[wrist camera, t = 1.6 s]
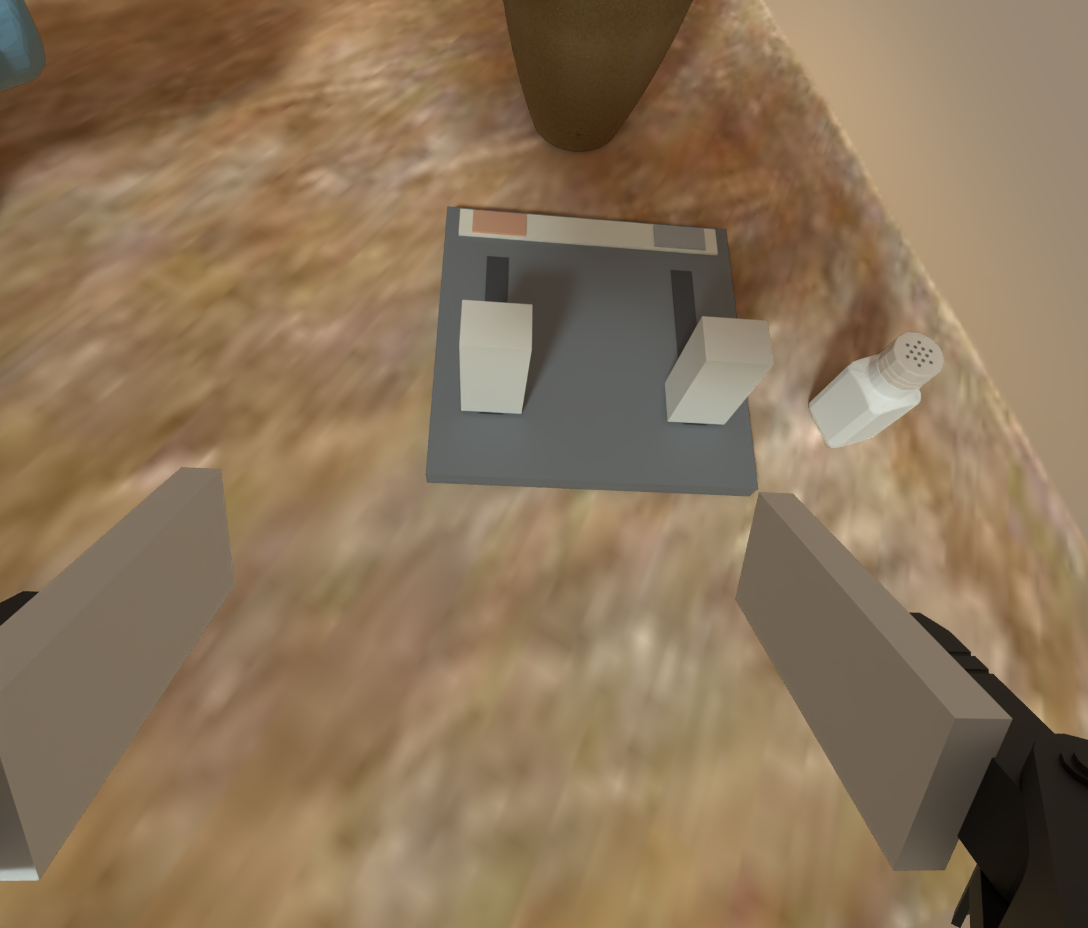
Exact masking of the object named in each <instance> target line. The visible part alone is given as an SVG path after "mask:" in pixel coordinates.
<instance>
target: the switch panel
mask: <svg viewBox="0 0 1088 928" xmlns="http://www.w3.org/2000/svg"><path fill="white" fill-rule="evenodd" d="M462 300H473V301H487V302H502V303H517V304H531V305H532V351H531V357H530V363H529V369H528V376H527V382H526V388H525V394H524V401H523V407H522V413H521V414H516V413H497V412H478V411H461V388H460V353H459V342H460V326H461V311H462ZM702 316H706V317H720V318H735V319H737V314H736V306H735V298H734V290H733V282H732V273H731V265H730V257H729V249H728V241H727V233H726V229H718V228H706V227H694V226H681V225H669V224H657V223H645V222H633V221H620V220H608V219H596V218H584V217H571V216H559V215H547V214H535V213H522V212H510V211H498V210H486V209H474V208H461V207H449V206H447V218H446V231H445V243H444V255H443V268H442V280H441V292H440V305H439V317H438V329H437V342H436V354H435V366H434V379H433V391H432V403H431V416H430V428H429V440H428V453H427V465H426V478H427V482H430V483H453V484H477V485H500V486H523V487H547V488H570V489H594V490H617V491H640V492H664V493H687V494H711V495H734V496H750V495H751V494H753V493H754V492H755V491H756V490H757V489H758V483H757V475H756V467H755V459H754V451H753V443H752V435H751V427H750V419H749V410H748V402H747V398H746V399H745V400H744V401H743V403H742V404H741V405H740V406H739V407H738V409H737V410H736V411H735V412H734V413H733V415H732V416H731V417H730V418H729V420H728V421H727V422H726V423H725V424H724V425H723V424H704V423H685V422H668V421H667V407H666V393H665V382H666V380H667V378H668V376H669V375H670V373H671V371H672V369H673V367H674V366H675V364H676V362H677V360H678V358H679V357H680V355H681V353H682V351H683V349H684V348H685V346H686V344H687V342H688V340H689V339H690V337H691V335H692V333H693V331H694V330H695V328H696V326H697V324H698V323H699V321H700V319H701V317H702Z"/></svg>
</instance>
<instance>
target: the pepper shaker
mask: <svg viewBox="0 0 1088 928" xmlns="http://www.w3.org/2000/svg"><path fill="white" fill-rule="evenodd" d="M943 363H944V358H943V355H942V352H941V349H940V348H939V346H938V345H937V344H936V343H935V342H934V341H933V340H932V339H931V338H929V337H927V336H925V335H923V334H921V333H913V332H906V333H904V334H902V335H900V336H899V337H897V338H896V339H895V340H894V341H892V342H891V343H890V345H888V346H887V347H886V348H885V349H884V350H883V351H882V352H881V353H880V354H877V355H873V356H869V357H865V358H862V359H859V360H856V361H853V362H852V363H850V364H849V365H848V366H847V367H846V368H845V369H844V370H843V371H842V372H841V373H840V374H839V375H838V376H837V377H836V378H835V379H834V380H833V381H831V382H830V383H829V384H828V385H827V386H826V387H825V388H824V389H823V390H822V391H821V392H820V393H819V394H818V395H817V396H816V397H815V398H814V399H813V400H812V401H811V402H810V403H809V411H810V413H811V415H812V417H813V419H814V421H815V423H816V425H817V427H818V429H819V431H820V433H821V435H822V437H823V439H824V441H825V443H826V444H827V445H828V446H829V447H830V448H839V447H842V446H846V445H849V444H853V443H857V442H860V441H864V440H868V439H871V438H873V437H874V436H875V435H877V434H878V433H879V432H881V431H882V430H883V429H885V428H886V427H888V426H889V425H890V424H892V423H893V422H894V421H896V420H897V419H898V418H900V417H901V416H903V415H904V414H905V413H907V412H908V411H909V410H911V409H912V408H913V407H915V406H916V405H917V404H918V403H919V402H920V400H921V393H920V390H919V388H920V387H921V386H922V385H924V384H925V383H926V382H928V381H929V380H930V379H931V378H933V377H934V376H935V375H937V374H938V373H939V372H941V369H942V366H943Z"/></svg>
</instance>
